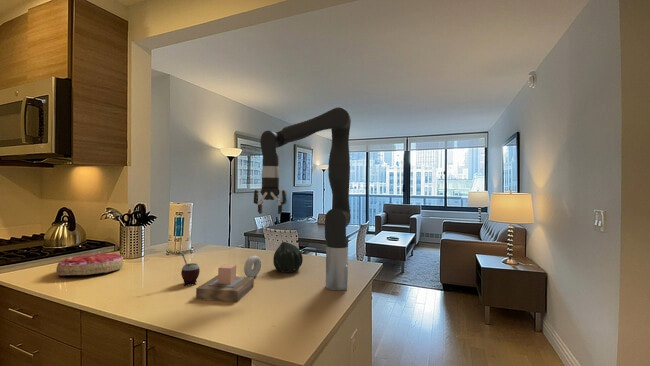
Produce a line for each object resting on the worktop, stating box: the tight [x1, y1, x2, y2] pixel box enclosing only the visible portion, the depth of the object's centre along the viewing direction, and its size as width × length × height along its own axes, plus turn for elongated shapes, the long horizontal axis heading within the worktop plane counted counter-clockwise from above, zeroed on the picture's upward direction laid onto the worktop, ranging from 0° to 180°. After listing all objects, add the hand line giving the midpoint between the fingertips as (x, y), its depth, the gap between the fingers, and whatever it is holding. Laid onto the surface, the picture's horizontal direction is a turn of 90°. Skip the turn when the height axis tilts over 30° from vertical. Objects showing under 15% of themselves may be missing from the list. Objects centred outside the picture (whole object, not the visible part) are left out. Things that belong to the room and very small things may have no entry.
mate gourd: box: [175, 249, 200, 287], centre depth 125 cm, size 8×8×15 cm
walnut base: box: [195, 275, 255, 303], centre depth 115 cm, size 16×16×4 cm
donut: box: [243, 255, 262, 278], centre depth 135 cm, size 10×4×10 cm, turn 153°
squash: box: [273, 241, 304, 273], centre depth 147 cm, size 14×15×15 cm
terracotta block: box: [217, 263, 237, 284], centre depth 115 cm, size 5×5×6 cm
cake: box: [55, 252, 124, 277], centre depth 140 cm, size 25×25×8 cm
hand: (269, 213), depth 130 cm, fingers open, 8 cm apart
